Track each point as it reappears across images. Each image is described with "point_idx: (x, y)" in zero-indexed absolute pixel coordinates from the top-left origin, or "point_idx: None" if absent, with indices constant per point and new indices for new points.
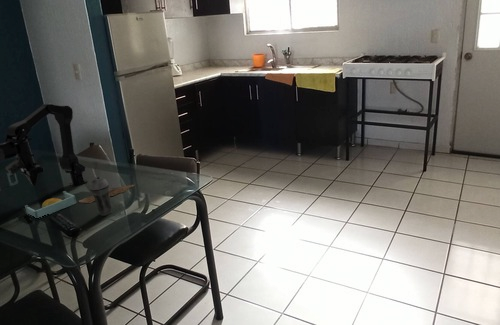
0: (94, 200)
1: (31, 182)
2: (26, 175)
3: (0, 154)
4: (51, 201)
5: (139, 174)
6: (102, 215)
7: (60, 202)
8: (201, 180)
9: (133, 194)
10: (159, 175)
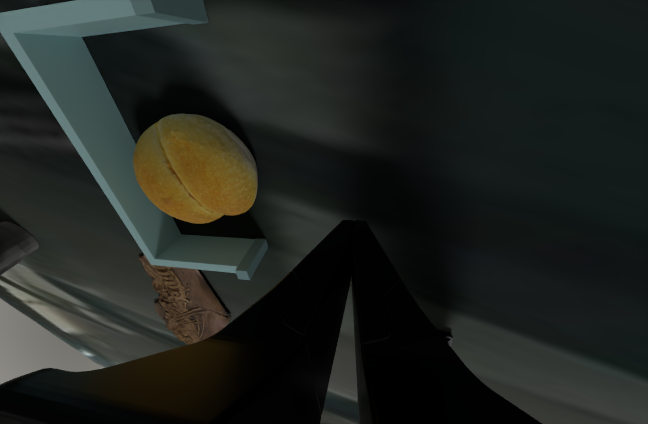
0: (149, 273)
1: (319, 244)
2: (365, 364)
3: None
4: (149, 178)
5: None
6: (1, 222)
7: (114, 198)
8: None
9: (135, 324)
10: None
